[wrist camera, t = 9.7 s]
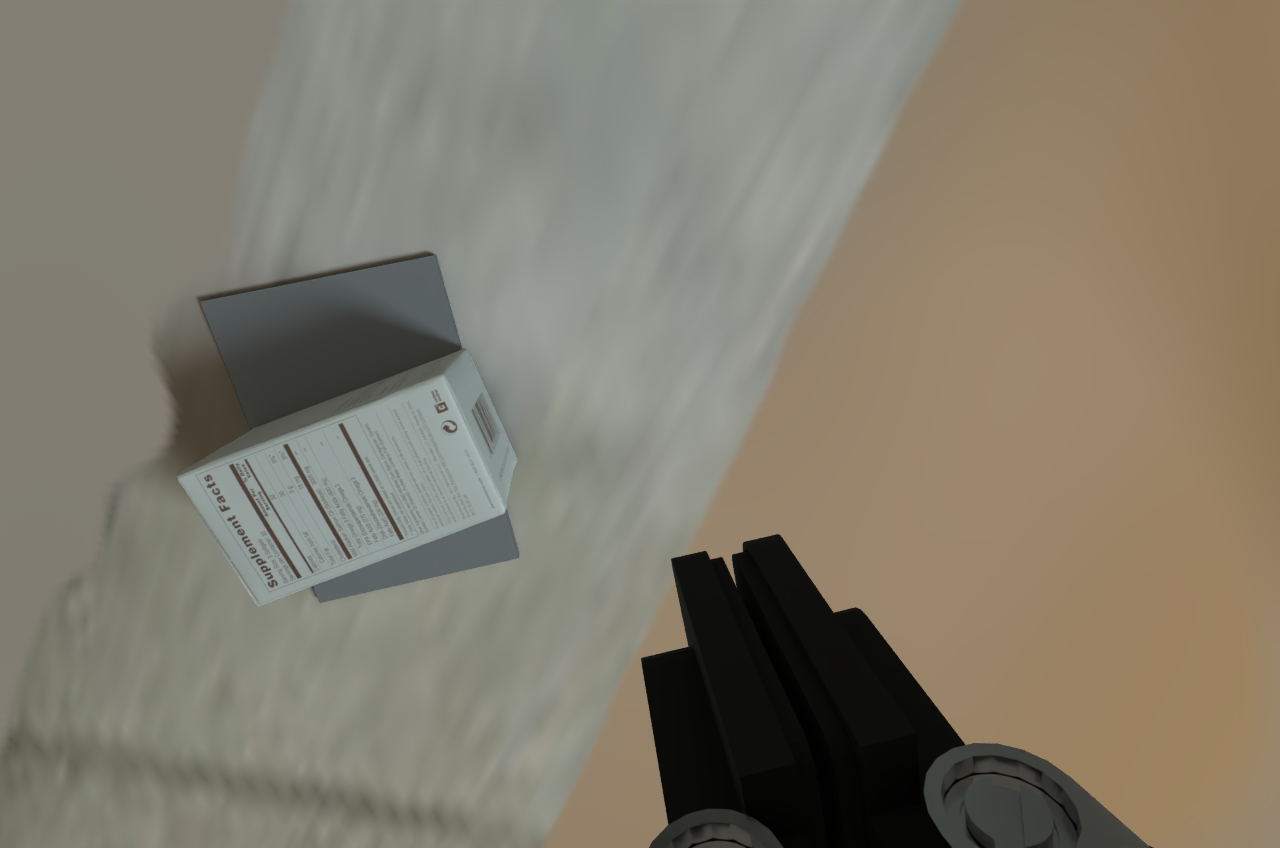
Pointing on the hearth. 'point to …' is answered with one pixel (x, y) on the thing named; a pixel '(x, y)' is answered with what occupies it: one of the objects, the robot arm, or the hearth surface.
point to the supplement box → (356, 478)
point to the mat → (350, 379)
